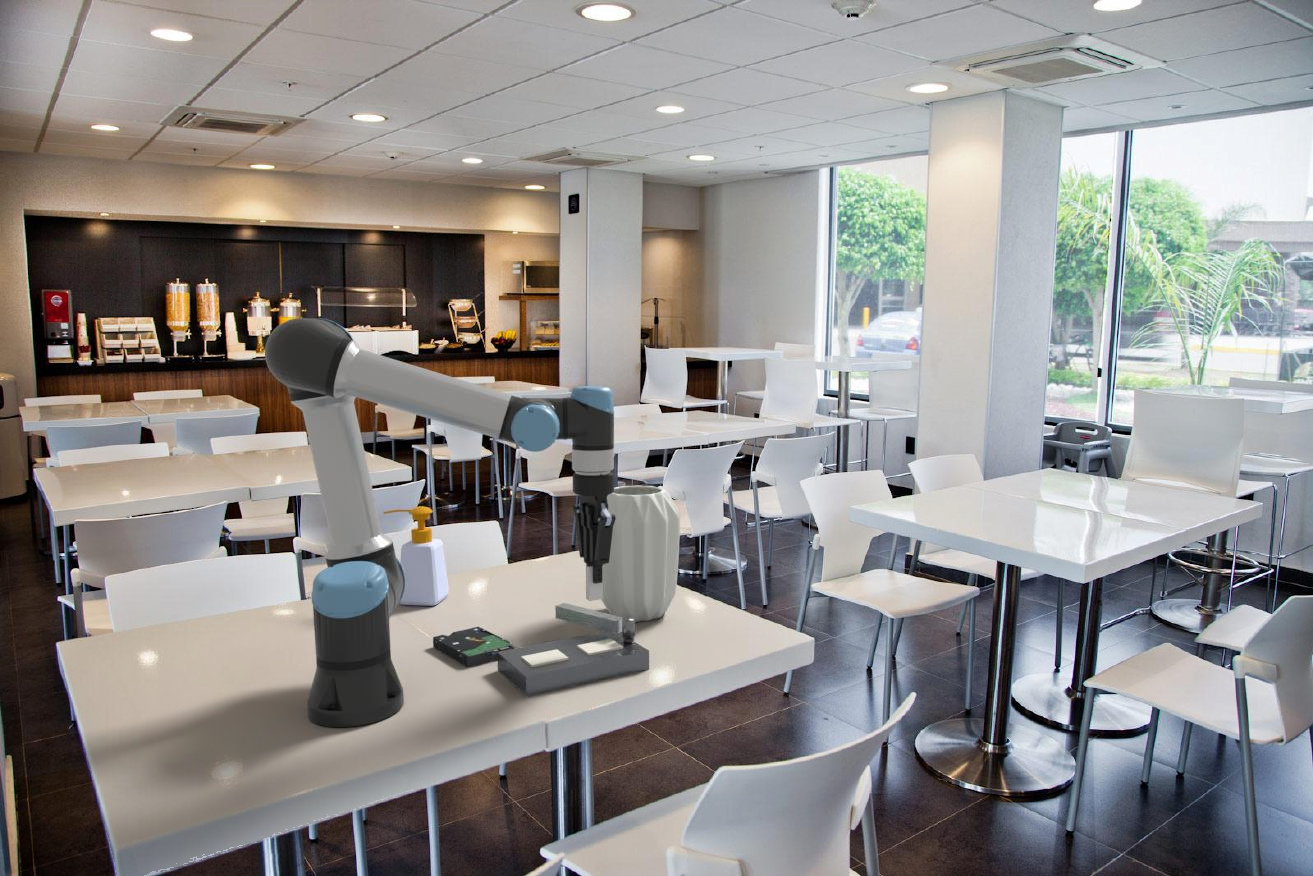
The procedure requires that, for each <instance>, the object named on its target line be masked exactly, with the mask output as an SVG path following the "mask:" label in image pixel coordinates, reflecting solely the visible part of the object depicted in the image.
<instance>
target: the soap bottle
mask: <svg viewBox="0 0 1313 876" xmlns="http://www.w3.org/2000/svg"><path fill="white" fill-rule="evenodd" d="M397 512H398V513H399V512H400V513H402V512H407V513H408V514H409V515H412V520H413V521H417V527H415V528H412V529H411V533H410V534H411V540H409V541H407V542H405V543H404V544H402V545H401V549H400V563H401V565H402V567H403V569H404V573H405V587H404V588H405V590H404V593H403V596H402V599H401V600H400V602H399V603H398V604H400V605H405V606H426V607H427V606H429V607H430V606H431V607H433V606H436V605H438V604H439V603H441V602H442V601H443V600H445V599H446V598H447V597H448V596H449V594H450V587H449V581H448V573H447V572H448V571H447V564H446V557H445V551H444V544H443V540H442V539H439V538H433V529H432V528H431V527H426V522H425V521H426V520H429V519H431V518H430V517H431V516H430V514H432V513H433V510H432V509H431V508H429V507H427V506H423V505H421V506H416V507H413V508H412V509H393V510H386V511H383V512H382V513H383V514H384V515H386V514H391V513H397Z"/></svg>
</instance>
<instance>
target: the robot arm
mask: <svg viewBox="0 0 1313 876" xmlns="http://www.w3.org/2000/svg"><path fill="white" fill-rule="evenodd" d="M264 358H265V363H266V364H267V365H266V366H267V368H268V370H269V372H270V373H271V374H272V376H273V377H274V378H275V379H276V380H277V381H279V382H280V383H282V384H283V385H284V386H286V387H287V392H288V395H289V399H290V403H291V404H292V405H294V406H295V407H296V408H298V409H300V411H301V412H302V414H303V419H304V424H305V429H306V433H307V436H308V437H307V438H308V442H309V447H310V450H311V456H312V460H313V464H314V469H315V474H316V479H317V483H318V487H319V491H320V497H321V501H322V505H323V510H324V514H325V518H326V523H327V528H328V533H329V537H330V542H331V546H330V547H329V549H328V550H327V551H326V553H325V555H324V557H325V561H326V562H325V563H326V565H327V567H326V568H324V569H322V570H321V571H320V572H318V573H317V574H316V575H315V577H314V578H313V582H312V591H311V594H310V595H311V603H312V610H313V614H312V615H313V628H314V643H315V644H314V645H315V646H314V647H315V658H316V669H315V673H314V676H313V680H312V684H311V688H310V689H309V690H310V691H309V694H308V697H307V701H306V702H307V703H306V706H307V707H306V708H307V717H308V719H309V720H310V721H311V722H312V723H314V724H317V725H319V726H324V727H330V728H331V727H332V728H333V727H334V728H348V727H349V728H350V727H357V726H358V727H359V726H363V725H369V724H373V723H376V722H379V721H382V720H385V719H387V718H389V717H391V716H393V715H395V714H397V713H398V712H400V710H401V709H402V708H403V706H404V704H405V698H404V697H405V696H404V687H403V685H402V683H401V680H400V678H399V675H398V673H397V670H396V668H395V665H394V663H393V661H392V654H391V653H392V651H391V634H390V633H391V631H390V630H391V629H390V618H391V616H392V615H393V613H394V611H395V609H397V607H398V605H399V604H400V603H399V602H400V600H401V599H402V596H403V593H404V590H405V588H404V587H405V573H404V569H403V567H402V565H401V560H399V558H397V556H396V550H395V546H394V541H393V539H392V538H391V537H389V536H387V535H385V534H384V533H383V532H382V528H381V523H380V519H379V514H378V510H377V504H376V500H375V496H374V490H373V486H372V481H371V476H370V473H369V468H368V462H367V457H366V453H365V448H364V443H363V438H362V434H361V429H360V424H359V420H358V415H357V411H356V406H355V400H356V398H358V399H360V400H361V399H362V400H364V401H368V402H372V403H375V404H378V405H382V406H385V407H389V408H393V409H395V410H399V411H402V412H405V413H409V414H413V415H416V416H420V417H422V418H426V419H430V420H433V421H436V422H439V423H444V424H447V425H451V426H453V427H458V428H461V429H464V430H467V431H471V432H475V433H478V434H482V435H485V436H488V437H492V438H495V439H499V440H502V441H504V442H507V443H510V444H513V445H517V446H518V447H520V448H521V449H523V450H525V451H527V452H533V453H535V452H536V453H537V452H543V451H545V450H546V449H548V448H550V447H551V446H552V445H553V444H554V443H555V442H556V441H557V440H558V441H559V440H565V441H567V440H571V441H572V446H571V470H573V471H574V472H573V474H572V492H573V493H574V494H575V495H577V496H579V499H578V500H579V503H578V504H573V505H572V509H573V513H574V516H575V524H576V527H575V528H576V533H577V534H576V535H577V544H578V551H579V557H580V558H583V562H584V564H585V599H586V600H587V601H588V602H592V601H598V600H601V599H603V565H604V564H607V563H609V559H610V550H611V541H612V532H613V525H614V523H615V519H616V517H615V515H614V514H611V515H610V514H609V512H608V501H607V496H608V495H609V494H612V493H613V492H614V488H615V474H614V473H613V470H614V469H615V456H616V453H615V450H614V447H615V444H614V443H615V436H614V435H615V410H614V409H615V408H614V394H613V391H612V390H611V388H609V387H608V386H603V385H583V386H582V385H579V386H574V387H573V388H572V389H571V394H570V396H569V397H568V396H567V397H562V398H561V397H559V398H558V397H555V398H554V397H549V398H548V397H524V396H523V397H519V396H515V395H512V394H509V393H506V392H502V391H498V390H496V389H492V388H490V387H485V386H482V385H480V384H476V383H473V382H469V381H466V380H463V379H460V378H458V377H457V378H456V377H453V376H449V375H446V374H443V373H440V372H437V371H433V370H430V369H427V368H422V367H419V366H416V365H413V364H411V363H407V362H404V361H402V360H401V361H400V360H397V359H394V358H391V357H387V356H385V355H380V354H377V353H374V352H371V351H367V350H363V349H362V348H360V347H359V344H358V343H357V342H356V340H355V339H354V338H353V336H352V335H351V333H350V332H349V331H348V330H347V329H346V328H345V327H343V326H342V325H340V324H339V323H337V322H335V321H333V320H329V319H328V318H322V317H319V318H306V317H297V318H292V319H288V320H287V321H283V322H282V323H280V324H279V325H277V326H276V327H275V328H274V329H273V331H271V333H270V335H269V336H268V337H267V340H266V343H265V348H264Z"/></svg>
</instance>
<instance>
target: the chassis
mask: <svg viewBox="0 0 1313 876" xmlns="http://www.w3.org/2000/svg"><path fill="white" fill-rule="evenodd" d="M606 639H612V640H614V641H615V642H617V643H619V644H620V645H622V646H623V649H618V650H613V651H609V652H604V653H599V654H594V655H587V654H586V653H584V652H583V651H582V650H580V649H579V648H577V645H581V644H586V643H591V642H596V641H601V640H606ZM556 649H557V650H559V651H560V652H562V653H563V654H564V655H566V656H567V657H568V658H569V660H565V661H560V662H555V663H550V664H545V665H541V666H536V667H531V666H530V665H528V664H527V663H526V662H525V661H524V660H522V659H521V656H526V655H531V654H536V653H541V652H546V651H551V650H556ZM497 659H498V660H497V671H498V672H499V673H500V674H501V675H503V676H504V677H505V678H506V680H508V681H509V682H510V683H511V684H512V685H513V686H514V687H516V688H517V689H518V690H519V691H520V692H522V694H523V695H524V696H525V697H529V696H530V697H531V696H534V695H538V694H544V693H548V692H551V691H556V690H557V691H558V690H561V689H566V688H570V687H574V686H579V685H583V684H587V683H593V682H598V681H602V680H605V679H611V678H615V677H620V676H624V675H629V674H633V673H638V672H643V671H646V670H650V650H649V649H647V648H646V647H644V646H642V645H641V644H639V643H637V642H636V641H635V637H633V638H624V637H622V632H620V633H618V634H614V633H610V632H606V631H603V630H602V631H600V632H594V633H588V634H583V635H580V636H579V635H578V636H573V637H568V638H562V639H559V640H552V641H547V642H541V643H537V644H532V645H527V646H522V647H515V649H510V650H505V651H500V652H497Z"/></svg>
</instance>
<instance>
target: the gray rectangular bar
mask: <svg viewBox="0 0 1313 876" xmlns="http://www.w3.org/2000/svg"><path fill="white" fill-rule="evenodd" d="M555 619H557V620H562V621H566V622H570V623H573V624H577V625H580V626H584V627H589V628H592V629H597V630H600V631H602V632H603V631H606V632H610V633H614V634H618V633H621V634H622V637H624V638H633V637H634V638H635V637H636V628H635V627H636V622H635V618H633V617H624V618H623V617H619V616H615V615H611V614H610V613H606V612H602V611H600V610H594V609H591V608H586V607H581V606H578V605H574V604H571V603H567V602H563V603H560V604H557V605H555Z"/></svg>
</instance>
